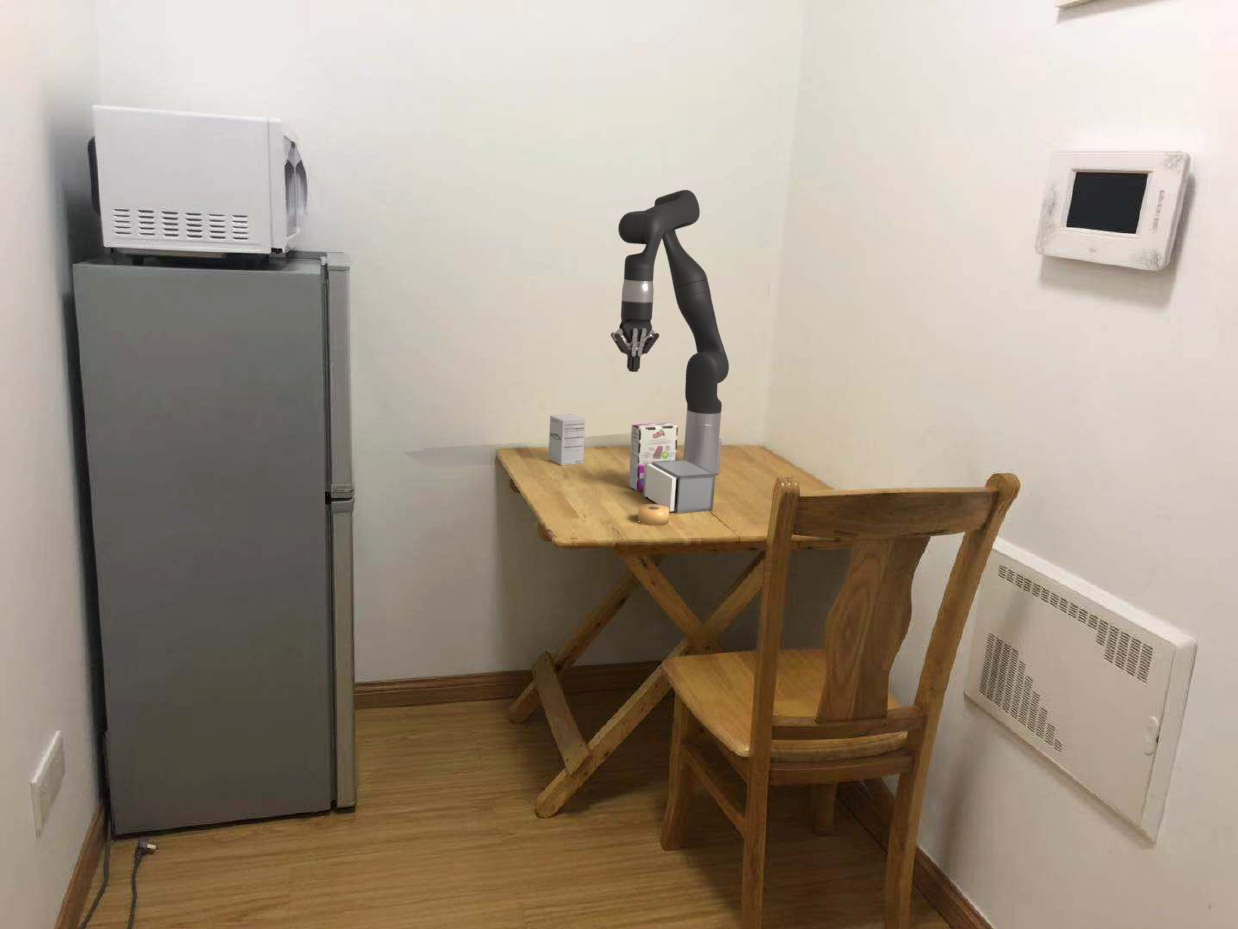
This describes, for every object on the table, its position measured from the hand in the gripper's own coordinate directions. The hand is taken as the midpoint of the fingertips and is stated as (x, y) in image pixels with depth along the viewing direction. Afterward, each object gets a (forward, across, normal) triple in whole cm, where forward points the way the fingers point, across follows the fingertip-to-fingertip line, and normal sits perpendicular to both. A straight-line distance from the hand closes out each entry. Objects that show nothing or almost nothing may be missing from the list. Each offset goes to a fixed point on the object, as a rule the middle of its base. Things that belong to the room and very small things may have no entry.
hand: (633, 371), depth 242 cm
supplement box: (+30, 0, +32) cm, 44 cm away
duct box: (+30, +7, -14) cm, 34 cm away
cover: (+30, +1, -13) cm, 33 cm away
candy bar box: (+30, +8, +1) cm, 31 cm away
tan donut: (+30, -7, -24) cm, 39 cm away
